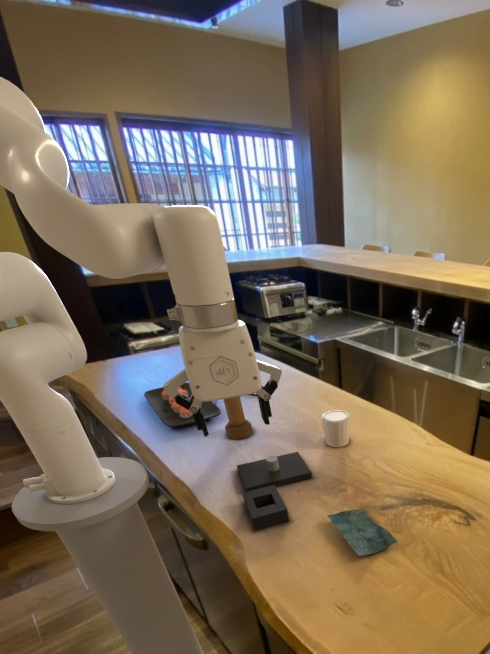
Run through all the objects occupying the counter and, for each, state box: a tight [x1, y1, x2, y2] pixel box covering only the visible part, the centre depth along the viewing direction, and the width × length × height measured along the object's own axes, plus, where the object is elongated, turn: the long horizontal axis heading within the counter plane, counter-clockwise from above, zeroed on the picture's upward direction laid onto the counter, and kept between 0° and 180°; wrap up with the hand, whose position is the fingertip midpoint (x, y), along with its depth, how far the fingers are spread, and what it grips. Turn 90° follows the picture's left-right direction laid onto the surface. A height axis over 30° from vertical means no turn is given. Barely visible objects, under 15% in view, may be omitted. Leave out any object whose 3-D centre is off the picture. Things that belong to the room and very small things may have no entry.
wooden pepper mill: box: [222, 396, 254, 440], centre depth 103 cm, size 7×6×18 cm
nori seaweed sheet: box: [326, 508, 399, 557], centre depth 77 cm, size 13×8×2 cm, turn 32°
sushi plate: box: [143, 382, 259, 428], centre depth 123 cm, size 29×30×4 cm
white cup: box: [321, 409, 351, 448], centre depth 103 cm, size 7×7×7 cm
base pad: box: [236, 451, 313, 492], centre depth 92 cm, size 14×10×4 cm
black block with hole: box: [241, 485, 290, 532], centre depth 82 cm, size 6×9×3 cm
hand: (236, 426), depth 69 cm, fingers open, 9 cm apart
